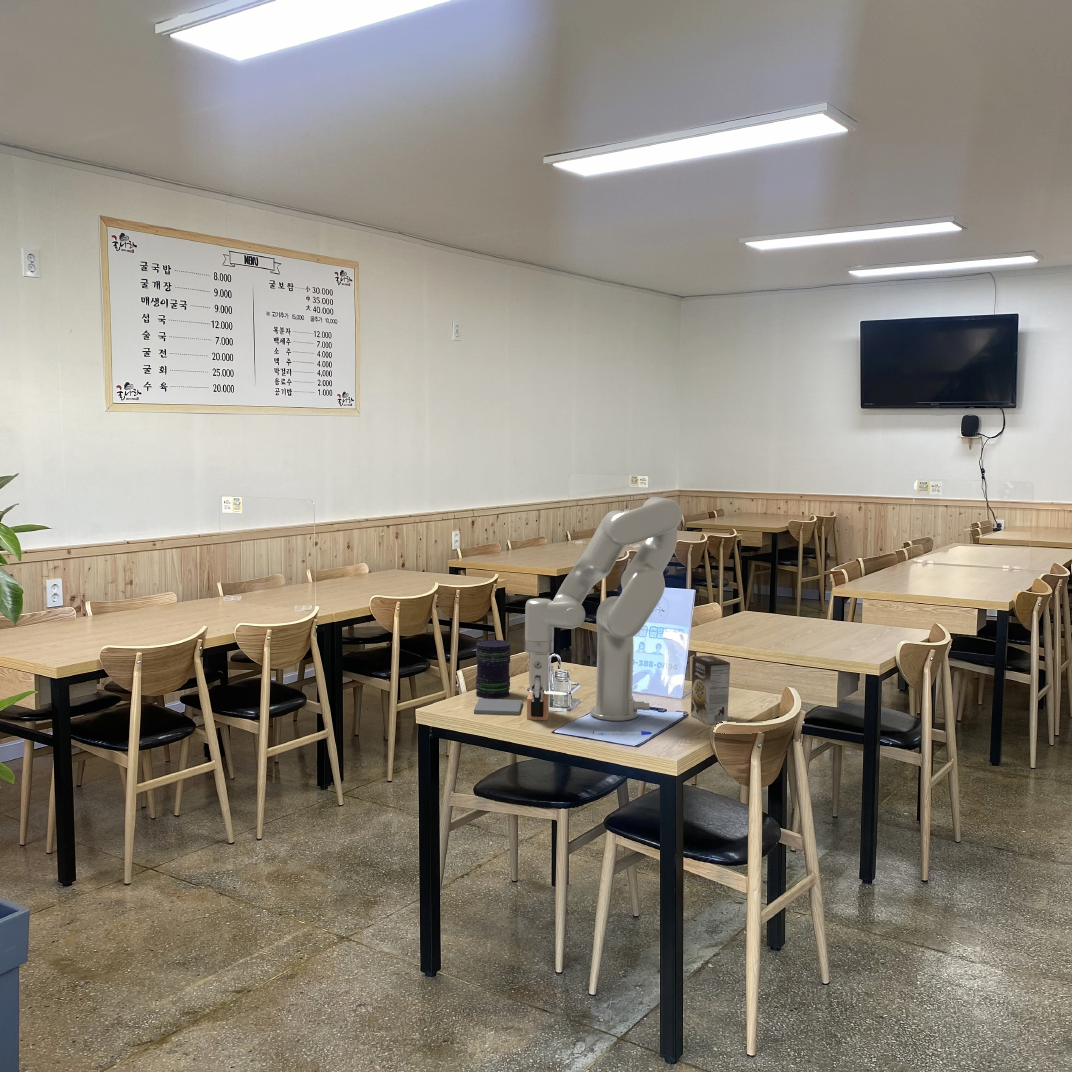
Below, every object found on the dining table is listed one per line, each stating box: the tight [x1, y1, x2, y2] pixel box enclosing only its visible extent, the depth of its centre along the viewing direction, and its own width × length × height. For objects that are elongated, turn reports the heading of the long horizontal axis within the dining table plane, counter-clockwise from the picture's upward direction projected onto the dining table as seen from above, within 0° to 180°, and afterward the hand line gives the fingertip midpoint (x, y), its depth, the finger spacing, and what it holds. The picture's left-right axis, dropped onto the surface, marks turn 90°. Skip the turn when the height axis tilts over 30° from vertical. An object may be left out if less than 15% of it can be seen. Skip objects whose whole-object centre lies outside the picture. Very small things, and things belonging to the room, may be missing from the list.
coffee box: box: [690, 655, 731, 725], centre depth 261 cm, size 9×6×16 cm
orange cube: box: [526, 693, 550, 721], centre depth 261 cm, size 6×6×6 cm
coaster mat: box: [473, 698, 523, 716], centre depth 268 cm, size 12×12×1 cm
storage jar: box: [475, 639, 512, 699], centre depth 283 cm, size 10×10×15 cm
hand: (537, 711), depth 261 cm, fingers open, 7 cm apart
